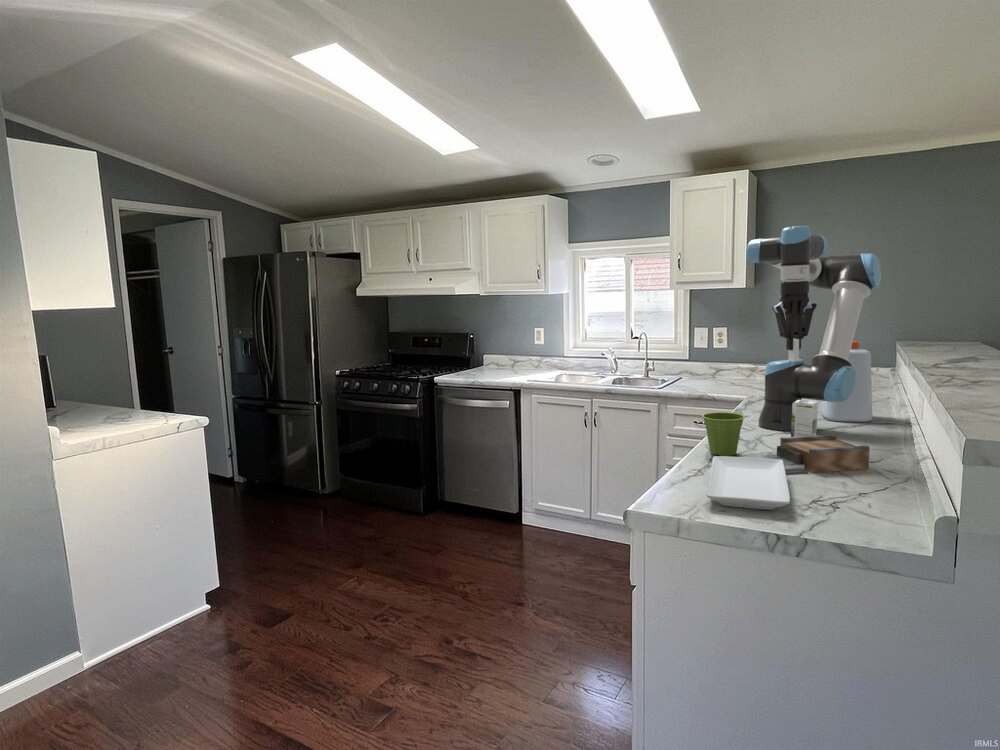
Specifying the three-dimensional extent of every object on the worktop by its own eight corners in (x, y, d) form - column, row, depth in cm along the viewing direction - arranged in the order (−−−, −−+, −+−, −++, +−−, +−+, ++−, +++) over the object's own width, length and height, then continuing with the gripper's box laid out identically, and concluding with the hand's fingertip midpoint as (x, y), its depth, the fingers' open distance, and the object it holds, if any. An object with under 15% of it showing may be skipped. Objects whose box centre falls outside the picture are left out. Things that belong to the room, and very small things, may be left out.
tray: (705, 509, 131) (705, 493, 130) (712, 467, 159) (713, 454, 159) (790, 518, 124) (791, 501, 124) (782, 472, 153) (783, 459, 152)
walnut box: (832, 455, 170) (833, 434, 169) (868, 468, 156) (869, 446, 155) (779, 458, 168) (780, 437, 167) (811, 472, 154) (812, 450, 153)
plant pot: (724, 446, 183) (725, 410, 181) (753, 455, 172) (754, 417, 170) (692, 451, 179) (693, 414, 177) (720, 460, 168) (721, 421, 166)
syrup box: (794, 446, 181) (796, 399, 179) (816, 449, 177) (818, 400, 175) (789, 450, 176) (791, 401, 174) (811, 453, 173) (813, 403, 171)
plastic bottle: (827, 421, 213) (830, 343, 209) (818, 413, 227) (821, 340, 224) (875, 423, 208) (879, 343, 205) (863, 414, 223) (867, 339, 219)
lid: (779, 458, 166) (780, 444, 166) (804, 469, 155) (804, 455, 155) (735, 461, 165) (735, 447, 164) (757, 472, 154) (757, 458, 153)
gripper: (781, 281, 170) (780, 364, 173) (823, 279, 172) (822, 360, 175) (766, 282, 177) (765, 360, 181) (807, 279, 179) (805, 357, 183)
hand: (793, 360), depth 178 cm, fingers closed
